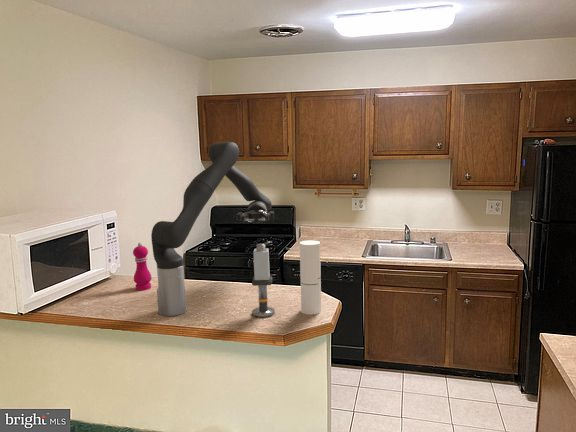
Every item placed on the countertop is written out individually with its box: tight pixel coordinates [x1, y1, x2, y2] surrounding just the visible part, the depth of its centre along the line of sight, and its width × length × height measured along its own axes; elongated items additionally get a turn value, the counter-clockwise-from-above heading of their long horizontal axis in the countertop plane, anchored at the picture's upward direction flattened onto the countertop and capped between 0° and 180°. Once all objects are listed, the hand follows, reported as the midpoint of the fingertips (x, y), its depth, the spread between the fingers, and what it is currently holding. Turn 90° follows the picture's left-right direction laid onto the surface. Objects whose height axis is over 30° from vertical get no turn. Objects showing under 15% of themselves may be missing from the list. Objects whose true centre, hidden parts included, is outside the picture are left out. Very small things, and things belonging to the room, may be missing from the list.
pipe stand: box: [251, 243, 276, 319], centre depth 158 cm, size 8×8×25 cm
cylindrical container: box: [299, 239, 322, 316], centre depth 159 cm, size 7×7×25 cm
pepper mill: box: [132, 242, 152, 291], centre depth 191 cm, size 7×7×20 cm
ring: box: [251, 275, 274, 287], centre depth 158 cm, size 7×7×2 cm
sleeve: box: [253, 247, 271, 280], centre depth 157 cm, size 5×5×10 cm
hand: (254, 218), depth 169 cm, fingers open, 8 cm apart
